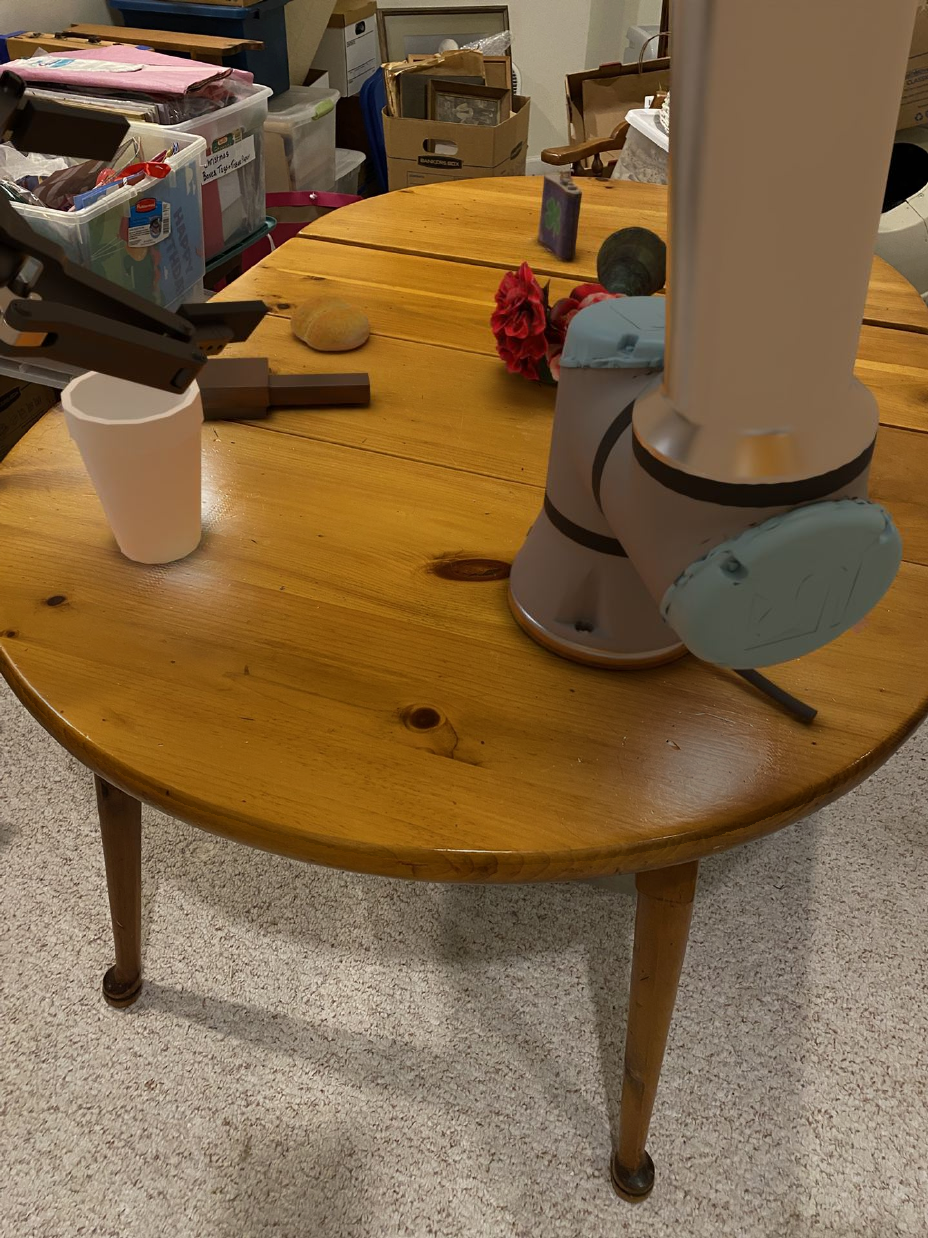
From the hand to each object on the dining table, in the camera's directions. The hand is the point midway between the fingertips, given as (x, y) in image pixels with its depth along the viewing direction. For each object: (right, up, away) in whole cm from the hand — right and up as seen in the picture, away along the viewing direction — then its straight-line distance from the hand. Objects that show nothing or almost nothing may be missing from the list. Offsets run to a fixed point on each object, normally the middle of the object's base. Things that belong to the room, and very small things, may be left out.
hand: (185, 229), depth 54 cm
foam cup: (-8, -17, +20) cm, 27 cm away
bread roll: (+1, +9, +50) cm, 51 cm away
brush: (-3, -2, +38) cm, 38 cm away
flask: (+29, +29, +76) cm, 86 cm away
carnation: (+30, +7, +51) cm, 60 cm away
